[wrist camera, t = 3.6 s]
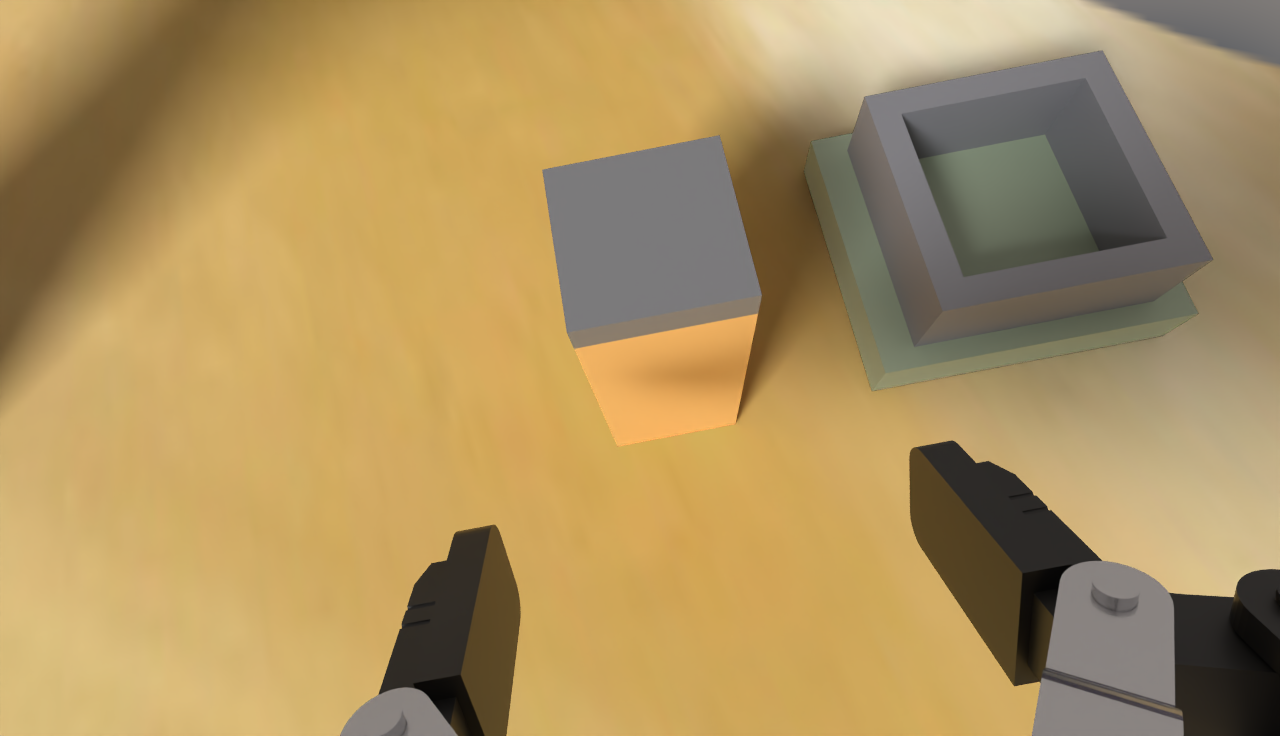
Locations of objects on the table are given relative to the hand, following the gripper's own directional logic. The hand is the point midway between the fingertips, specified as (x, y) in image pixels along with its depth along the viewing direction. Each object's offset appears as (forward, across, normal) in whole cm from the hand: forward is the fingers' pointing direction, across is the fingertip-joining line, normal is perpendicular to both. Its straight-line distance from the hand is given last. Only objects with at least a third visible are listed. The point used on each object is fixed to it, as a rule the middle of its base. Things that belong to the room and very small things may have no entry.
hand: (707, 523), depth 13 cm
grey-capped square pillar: (+13, 0, +3) cm, 14 cm away
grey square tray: (+15, -13, +1) cm, 20 cm away
